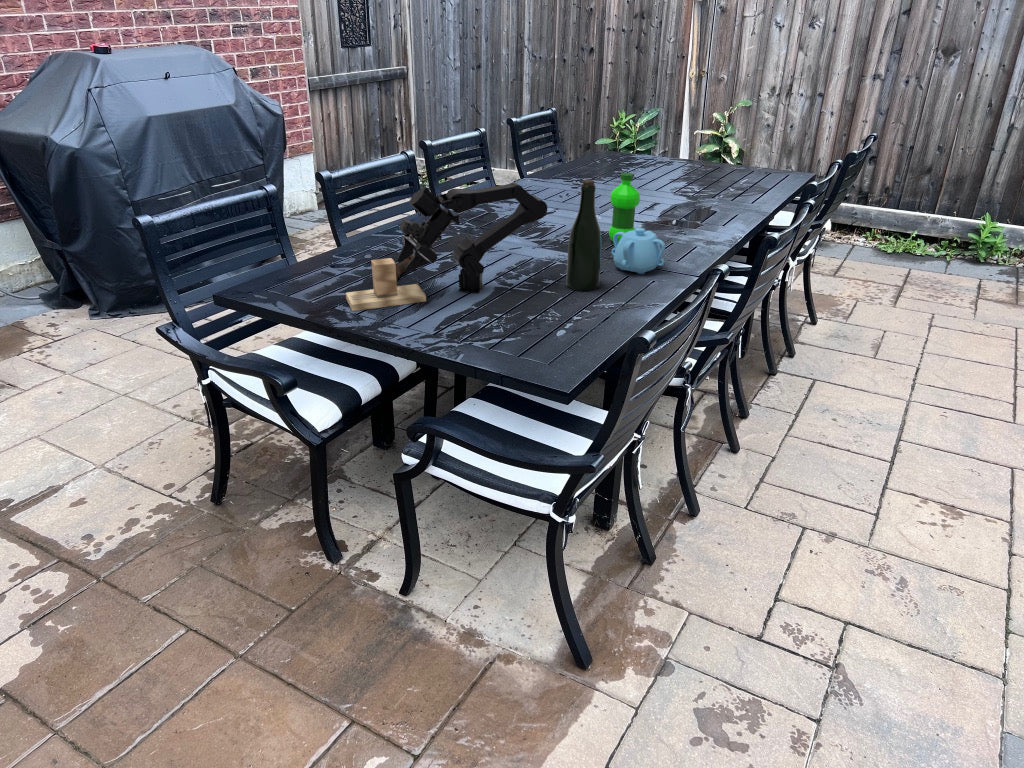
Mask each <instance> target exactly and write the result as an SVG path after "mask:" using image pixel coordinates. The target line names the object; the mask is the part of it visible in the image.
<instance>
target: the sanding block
mask: <svg viewBox="0 0 1024 768" xmlns="http://www.w3.org/2000/svg"><path fill="white" fill-rule="evenodd" d="M370 261H371V272H372V273H371V275H372V285H373V286H372V287H373V289H374V293H375V295H376V296H377V298H382V297H389V296H397V286H398V285H397V282H398V281H397V280H398V279H397V280H396V266H395V265H396V262H395V261H394V259H393V258H392V257H388V258H386V257H385V258H378V259H371V260H370Z"/></svg>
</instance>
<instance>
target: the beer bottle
mask: <svg viewBox="0 0 1024 768" xmlns="http://www.w3.org/2000/svg"><path fill="white" fill-rule="evenodd" d="M596 189H597V186H596V184H595V180H593V179H583V180H582V184H581V185H580V201H579V208H578V213H577V215H576V218H575V220H574V222H573V224H572V227H571V229H570V233H569V236H568V237H569V238H568V247H567V261H566V263H567V264H566V277H565V279H566V281H565V282H566V286H567V287H569V288H570V289H572V290H575V291H584V292H585V291H592V290H596V289H597V288H598V287H599V286H600V280H601V277H600V276H601V263H602V261H601V260H602V259H601V258H602V232H601V228H600V224H599V220H598V219H597V214H596V206H595V205H596V202H595V201H596Z"/></svg>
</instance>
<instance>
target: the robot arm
mask: <svg viewBox="0 0 1024 768" xmlns="http://www.w3.org/2000/svg"><path fill="white" fill-rule="evenodd" d="M513 199H515V200H516V201H517V202H518V203H519V204H518V205H517V207H516V208H515V210H514V212H513V213H511V214H510V215H508V216H507V217H506V218H505V219H503V220H502V221H500V222H499V223H497V224H496V225H494V226H493V227H492V228H490V229H489V230H488V231H486V232H485V233H484V234H482V235H480V236H479V237H477V238H476V239H470V238H469V237H466V238H464V240H462V241H461V242H459V243H456V247H455V248H453V253H452V257H453V260H454V261H455V263H457V265H459V267H460V268H461V269H460V271H459V274H458V287H459V288H458V291H459V292H465V293H473V294H474V293H475V294H479V293H480V292H481V291H482V290H483V288H484V287H485V284H483V273H484V270H485V266H484V265H483V264H482V263H481V261H482V259H483V257H484V255H485V254H486V252H488V251H490V250H491V249H492V248H493V247H494V246H496V245H498V244H499V243H500V242H502V241H503V240H504V239H507V237H509V236H510V235H511V234H513V233H515V232H516V231H517V230H519V229H520V228H521V227H523V226H525V225H528V224H532V223H535V222H537V221H539V220H541V219H543V218H545V217H546V215H547V212H548V204H547V203H546V202H545V201H544V200H542V199H540V198H539V197H538V196H536V195H532V194H530V192H528V191H527V190H526V189H524V187H523V186H522V185H521V184H519V183H517V182H511V183H509V184H507V183H506V184H502V185H497V186H496V185H495V186H491V187H483V188H478V189H467V188H451V189H449V190H447V192H446V193H442V194H438V195H435V194H434V193H433V192H432V191H431V190H430V189H429V188H428V186H425V185H424V186H423V187H422V188H421V189H419V190H418V191H416V192H414V193H413V195H412V196H411V198H410V200H409V203H408V204H409V205H410V206H411V207H412V208H414V209H415V210H416V211H417V212H418V213H419V214H421V216H423V217H424V218H425V217H429V218H428V219H427V220H426V221H425V220H423V221H420V223H419V222H415V221H413V220H410V219H407V218H402V219H401V222H400V226H399V228H398V229H399V230H401V232H402V234H403V235H402V241H403V245H402V247H401V250H400V252H399V254H398V257H397V258H396V262H397V264H398V263H400V262H402V261H404V260H405V259H407V258H408V257H410V256H411V255H413V257H412V258H411V260H410V262H409V263H408V265H407V266H406V268H405V270H404V271H405V272H404V273H405V274H408V273H410V272H412V271H415V270H417V269H419V268H421V267H423V266H426V265H430V264H431V263H432V264H435V262H436V261H437V259H438V254H437V253H436V251H434V247H433V245H434V244H435V243H436V242H437V240H441V239H442V238H443V236H442V235H443V233H444V232H445V231H446V230H447V228H448V227H449V226H450V225H451V224H452V223H453V222H454V223H455V224H456V225H457V226H459V225H460V215H459V214H461V213H464V212H467V211H471V210H472V209H474V208H475V207H477V206H480V205H484V204H485V205H486V204H491V203H495V202H503V201H509V200H513ZM440 205H441V206H442V207H443V208H442V207H441V206H440ZM451 210H452V211H453V212H455V213H453V212H452V211H451Z"/></svg>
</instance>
